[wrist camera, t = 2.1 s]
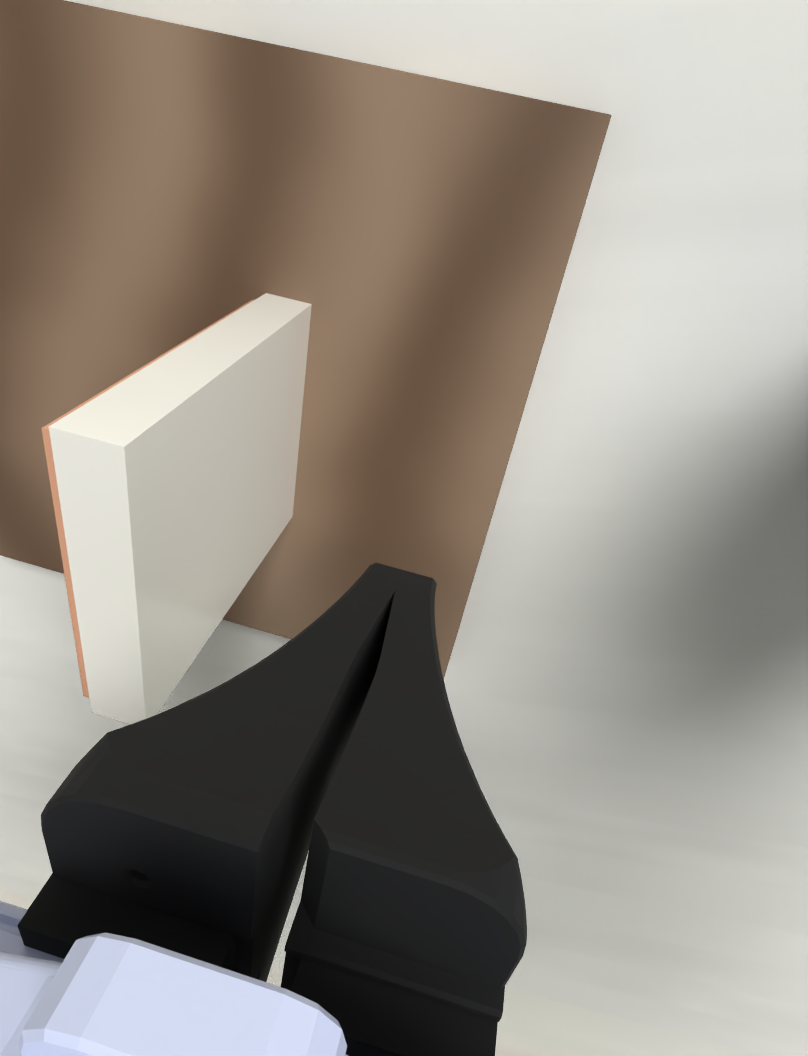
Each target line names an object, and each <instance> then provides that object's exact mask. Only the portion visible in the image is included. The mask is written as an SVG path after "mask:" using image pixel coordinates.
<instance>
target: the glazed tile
mask: <svg viewBox="0 0 808 1056" xmlns="http://www.w3.org/2000/svg"><path fill="white" fill-rule="evenodd" d="M311 306H312V304H309V303H305V302H301V301H297V300H293V299H289V298H285V297H280V296H276V295H272V294H268V293H265V294H264V295H262V296H260V297H259V298H257V299H256V300H251V301H249V302H248V303H246V304H244V305H243V306H241V307H240V308H238V309H236V310H235V311H233V312H231V313H230V314H228V315H226V316H225V317H223V318H221V319H220V320H218V321H217V322H215V323H213V324H212V325H210V326H208V327H207V328H205V329H203V330H202V331H200V332H199V333H197V334H195V335H194V336H192V337H190V338H189V339H187V340H185V341H184V342H182V343H180V344H179V345H177V346H176V347H174V348H172V349H171V350H169V351H167V352H166V353H164V354H162V355H161V356H159V357H157V358H156V359H154V360H153V361H151V362H149V363H148V364H146V365H144V366H143V367H141V368H139V369H138V370H136V371H134V372H133V373H131V374H130V375H128V376H126V377H125V378H123V379H121V380H120V381H118V382H116V383H115V384H113V385H111V386H110V387H108V388H107V389H105V390H103V391H102V392H100V393H98V394H97V395H95V396H93V397H92V398H90V399H88V400H87V401H85V402H84V403H82V404H80V405H79V406H77V407H75V408H74V409H72V410H70V411H69V412H67V413H65V414H64V415H62V416H61V417H59V418H57V419H56V420H54V421H52V422H51V423H49V424H47V425H46V426H44V427H42V435H43V441H44V447H45V454H46V460H47V466H48V473H49V479H50V486H51V492H52V498H53V505H54V511H55V517H56V524H57V530H58V536H59V543H60V549H61V556H62V562H63V568H64V575H65V581H66V587H67V594H68V600H69V606H70V613H71V619H72V626H73V632H74V638H75V645H76V651H77V657H78V664H79V670H80V677H81V683H82V689H83V696H85V697H89V699H90V706H91V712H92V713H94V714H98V715H101V716H104V717H108V718H111V719H114V720H117V721H121V722H124V723H127V724H130V725H131V724H133V723H136V722H139V721H141V720H144V719H147V718H149V717H152V716H155V715H157V714H158V712H159V711H160V709H161V708H162V706H163V705H164V704H165V702H166V701H167V699H168V698H169V696H170V695H171V693H172V692H173V690H174V689H175V687H176V686H177V685H178V683H179V682H180V680H181V679H182V677H183V676H184V674H185V673H186V671H187V670H188V669H189V667H190V666H191V664H192V663H193V661H194V660H195V658H196V657H197V655H198V654H199V652H200V651H201V650H202V648H203V647H204V645H205V644H206V642H207V641H208V639H209V638H210V636H211V635H212V633H213V632H214V631H215V629H216V628H217V626H218V625H219V623H220V622H221V620H222V619H223V617H224V616H225V614H226V613H227V612H228V610H229V609H230V607H231V606H232V604H233V603H234V601H235V600H236V598H237V597H238V596H239V594H240V593H241V591H242V590H243V588H244V587H245V585H246V584H247V582H248V581H249V579H250V578H251V577H252V575H253V574H254V572H255V571H256V569H257V568H258V566H259V565H260V563H261V562H262V560H263V559H264V558H265V556H266V555H267V553H268V552H269V550H270V549H271V547H272V546H273V544H274V543H275V542H276V540H277V539H278V537H279V536H280V534H281V533H282V531H283V530H284V528H285V527H286V525H287V524H288V523H289V521H290V520H291V518H292V517H293V506H294V495H295V484H296V473H297V462H298V451H299V439H300V428H301V417H302V406H303V395H304V384H305V373H306V362H307V351H308V339H309V328H310V317H311Z"/></svg>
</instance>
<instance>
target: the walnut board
mask: <svg viewBox="0 0 808 1056" xmlns="http://www.w3.org/2000/svg"><path fill="white" fill-rule="evenodd" d="M610 118H611V115H609V114H604V113H600V112H595V111H590V110H585V109H581V108H576V107H571V106H566V105H561V104H557V103H552V102H547V101H542V100H538V99H533V98H528V97H523V96H518V95H514V94H509V93H504V92H499V91H495V90H490V89H485V88H480V87H475V86H471V85H466V84H461V83H456V82H451V81H447V80H442V79H437V78H432V77H428V76H423V75H418V74H413V73H408V72H404V71H399V70H394V69H389V68H385V67H380V66H375V65H370V64H365V63H361V62H356V61H351V60H346V59H342V58H337V57H332V56H327V55H322V54H318V53H313V52H308V51H303V50H299V49H294V48H289V47H284V46H279V45H275V44H270V43H265V42H260V41H256V40H251V39H246V38H241V37H236V36H232V35H227V34H222V33H217V32H212V31H208V30H203V29H198V28H193V27H189V26H184V25H179V24H174V23H169V22H165V21H160V20H155V19H150V18H146V17H141V16H136V15H131V14H126V13H122V12H117V11H112V10H107V9H103V8H98V7H93V6H88V5H83V4H79V3H74V2H69V1H64V0H0V555H1V556H5V557H8V558H12V559H15V560H19V561H22V562H26V563H29V564H33V565H36V566H40V567H43V568H47V569H50V570H54V571H57V572H60V573H64V568H63V562H62V556H61V549H60V543H59V536H58V530H57V524H56V517H55V511H54V505H53V498H52V492H51V486H50V479H49V473H48V466H47V460H46V454H45V447H44V441H43V435H42V427H44V426H46V425H47V424H49V423H51V422H52V421H54V420H56V419H57V418H59V417H61V416H62V415H64V414H65V413H67V412H69V411H70V410H72V409H74V408H75V407H77V406H79V405H80V404H82V403H84V402H85V401H87V400H88V399H90V398H92V397H93V396H95V395H97V394H98V393H100V392H102V391H103V390H105V389H107V388H108V387H110V386H111V385H113V384H115V383H116V382H118V381H120V380H121V379H123V378H125V377H126V376H128V375H130V374H131V373H133V372H134V371H136V370H138V369H139V368H141V367H143V366H144V365H146V364H148V363H149V362H151V361H153V360H154V359H156V358H157V357H159V356H161V355H162V354H164V353H166V352H167V351H169V350H171V349H172V348H174V347H176V346H177V345H179V344H180V343H182V342H184V341H185V340H187V339H189V338H190V337H192V336H194V335H195V334H197V333H199V332H200V331H202V330H203V329H205V328H207V327H208V326H210V325H212V324H213V323H215V322H217V321H218V320H220V319H221V318H223V317H225V316H226V315H228V314H230V313H231V312H233V311H235V310H236V309H238V308H240V307H241V306H243V305H244V304H246V303H248V302H249V301H251V300H256V299H257V298H259V297H260V296H262V295H264V294H265V293H268V294H272V295H276V296H280V297H285V298H289V299H293V300H297V301H301V302H305V303H309V304H312V306H311V317H310V328H309V339H308V351H307V362H306V373H305V384H304V395H303V406H302V417H301V428H300V439H299V451H298V462H297V473H296V484H295V495H294V506H293V517H292V518H291V520H290V521H289V523H288V524H287V525H286V527H285V528H284V530H283V531H282V533H281V534H280V536H279V537H278V539H277V540H276V542H275V543H274V544H273V546H272V547H271V549H270V550H269V552H268V553H267V555H266V556H265V558H264V559H263V560H262V562H261V563H260V565H259V566H258V568H257V569H256V571H255V572H254V574H253V575H252V577H251V578H250V579H249V581H248V582H247V584H246V585H245V587H244V588H243V590H242V591H241V593H240V594H239V596H238V597H237V598H236V600H235V601H234V603H233V604H232V606H231V607H230V609H229V610H228V612H227V613H226V614H225V616H224V617H223V619H224V620H227V621H231V622H234V623H237V624H241V625H244V626H248V627H251V628H255V629H258V630H262V631H265V632H269V633H272V634H276V635H279V636H283V637H286V638H290V639H293V638H294V637H295V636H297V635H298V634H299V633H300V632H302V631H303V630H304V629H305V628H307V627H308V626H309V625H310V624H312V623H313V622H314V621H315V620H316V619H318V618H319V617H320V616H321V615H322V614H323V613H324V612H325V611H326V610H328V609H329V608H330V607H331V606H332V605H333V604H334V603H335V602H336V601H337V600H338V599H340V598H341V597H342V596H343V595H344V594H345V593H346V592H347V591H348V590H349V589H350V588H351V586H352V585H353V584H354V583H355V582H356V581H357V580H358V579H359V578H360V577H361V575H362V574H363V573H364V572H365V571H366V569H367V568H368V567H369V566H370V565H371V564H374V563H380V564H383V565H387V566H391V567H394V568H398V569H402V570H405V571H409V572H413V573H416V574H420V575H424V576H427V577H431V578H433V579H434V580H435V582H436V583H437V586H436V591H435V628H436V638H437V645H438V652H439V659H440V665H441V670H442V675H443V679H444V676H445V673H446V669H447V666H448V663H449V659H450V656H451V652H452V649H453V646H454V642H455V639H456V636H457V632H458V629H459V626H460V622H461V619H462V616H463V612H464V609H465V605H466V602H467V599H468V595H469V592H470V589H471V585H472V582H473V579H474V575H475V572H476V568H477V565H478V562H479V558H480V555H481V552H482V548H483V545H484V542H485V538H486V535H487V532H488V528H489V525H490V521H491V518H492V515H493V511H494V508H495V505H496V501H497V498H498V495H499V491H500V488H501V484H502V481H503V478H504V474H505V471H506V468H507V464H508V461H509V458H510V454H511V451H512V448H513V444H514V441H515V437H516V434H517V431H518V427H519V424H520V421H521V417H522V414H523V411H524V407H525V404H526V400H527V397H528V394H529V390H530V387H531V384H532V380H533V377H534V374H535V370H536V367H537V364H538V360H539V357H540V353H541V350H542V347H543V343H544V340H545V337H546V333H547V330H548V327H549V323H550V320H551V317H552V313H553V310H554V306H555V303H556V300H557V296H558V293H559V290H560V286H561V283H562V280H563V276H564V273H565V269H566V266H567V263H568V259H569V256H570V253H571V249H572V246H573V243H574V239H575V236H576V233H577V229H578V226H579V222H580V219H581V216H582V212H583V209H584V206H585V202H586V199H587V196H588V192H589V189H590V185H591V182H592V179H593V175H594V172H595V169H596V165H597V162H598V159H599V155H600V152H601V149H602V145H603V142H604V138H605V135H606V132H607V128H608V125H609V122H610Z"/></svg>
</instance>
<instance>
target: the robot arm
mask: <svg viewBox="0 0 808 1056" xmlns="http://www.w3.org/2000/svg"><path fill="white" fill-rule="evenodd" d="M436 586H437V583H436V582H435V580H434V579H433V578H431V577H427V576H424V575H420V574H416V573H413V572H409V571H405V570H402V569H398V568H394V567H391V566H387V565H383V564H380V563H374V564H371V565H370V566H369V567H368V568H367V569H366V571H365V572H364V573H363V574H362V575H361V577H360V578H359V579H358V580H357V581H356V582H355V583H354V584H353V585H352V586H351V588H350V589H349V590H348V591H347V592H346V593H345V594H344V595H343V596H342V597H341V598H340V599H338V600H337V601H336V602H335V603H334V604H333V605H332V606H331V607H330V608H329V609H328V610H326V611H325V612H324V613H323V614H322V615H321V616H320V617H319V618H318V619H316V620H315V621H314V622H313V623H312V624H310V625H309V626H308V627H307V628H305V629H304V630H303V631H302V632H300V633H299V634H298V635H297V636H295V637H294V638H293V639H292V640H290V641H289V642H288V643H286V644H285V645H283V646H282V647H281V648H279V649H278V650H277V651H275V652H274V653H272V654H271V655H269V656H268V657H266V658H265V659H263V660H262V661H260V662H259V663H257V664H256V665H254V666H252V667H251V668H249V669H247V670H246V671H244V672H242V673H240V674H239V675H237V676H235V677H234V678H232V679H230V680H229V681H227V682H225V683H223V684H221V685H219V686H218V687H216V688H214V689H212V690H210V691H208V692H206V693H204V694H201V695H199V696H197V697H195V698H193V699H191V700H189V701H187V702H184V703H182V704H180V705H178V706H176V707H174V708H172V709H169V710H167V711H165V712H162V713H160V714H157V715H155V716H152V717H149V718H147V719H144V720H141V721H139V722H136V723H133V724H131V725H128V726H125V727H123V728H120V729H117V730H114V731H111V732H108V733H107V734H106V735H105V736H104V737H103V738H102V739H101V740H100V741H99V742H98V743H97V744H96V745H95V746H94V747H93V748H92V749H91V750H90V751H89V752H88V753H87V754H86V755H85V756H84V757H83V758H82V759H81V761H80V762H79V763H78V764H77V765H76V766H75V767H74V769H73V770H72V771H71V773H70V774H69V775H68V777H67V778H66V779H65V781H64V782H63V783H62V785H61V786H60V787H59V789H58V790H57V791H56V793H55V794H54V795H53V797H52V798H51V799H50V801H49V802H48V803H47V805H46V807H45V808H44V810H43V812H42V814H41V826H42V832H43V836H44V840H45V844H46V848H47V852H48V856H49V859H50V863H51V867H52V871H53V873H52V875H51V876H50V878H49V879H48V881H47V882H46V884H45V885H44V887H43V888H42V890H41V891H40V893H39V894H38V896H37V897H36V899H35V900H34V901H33V903H32V904H31V906H30V907H29V909H28V910H26V909H23V908H20V907H17V906H14V905H11V904H8V903H5V902H2V901H0V1056H495V1046H496V1035H497V1023H498V1022H499V1021H500V1019H501V1017H502V1012H503V1002H504V990H505V984H506V983H507V981H508V980H509V978H510V976H511V975H512V973H513V971H514V970H515V968H516V966H517V965H518V963H519V961H520V960H521V958H522V956H523V953H524V950H525V946H526V940H527V924H526V909H525V899H524V892H523V885H522V880H521V874H520V869H519V864H518V859H517V857H516V855H515V853H514V851H513V850H512V848H511V846H510V845H509V843H508V841H507V839H506V838H505V836H504V834H503V832H502V830H501V829H500V827H499V825H498V823H497V821H496V819H495V817H494V815H493V813H492V811H491V809H490V807H489V805H488V803H487V801H486V799H485V797H484V795H483V793H482V791H481V789H480V786H479V784H478V782H477V779H476V777H475V775H474V772H473V770H472V767H471V765H470V763H469V760H468V758H467V756H466V753H465V751H464V748H463V745H462V742H461V739H460V737H459V734H458V731H457V728H456V725H455V721H454V718H453V715H452V712H451V708H450V704H449V701H448V697H447V693H446V689H445V684H444V680H443V675H442V670H441V665H440V659H439V652H438V645H437V638H436V628H435V591H436ZM308 850H309V853H308ZM307 853H308V859H307V865H306V872H305V878H304V884H303V890H302V896H301V901H300V904H299V907H298V910H297V913H296V916H295V919H294V921H293V924H292V927H291V930H290V933H289V936H288V939H287V942H286V946H285V952H286V956H285V963H284V969H283V976H282V983H281V987H279V986H276V985H273V984H270V983H267V982H266V981H267V977H268V974H269V971H270V968H271V965H272V962H273V958H274V955H275V952H276V949H277V946H278V943H279V939H280V936H281V933H282V930H283V927H284V924H285V921H286V918H287V915H288V912H289V909H290V905H291V902H292V899H293V896H294V893H295V890H296V887H297V884H298V881H299V878H300V875H301V872H302V869H303V866H304V863H305V860H306V856H307Z"/></svg>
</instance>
